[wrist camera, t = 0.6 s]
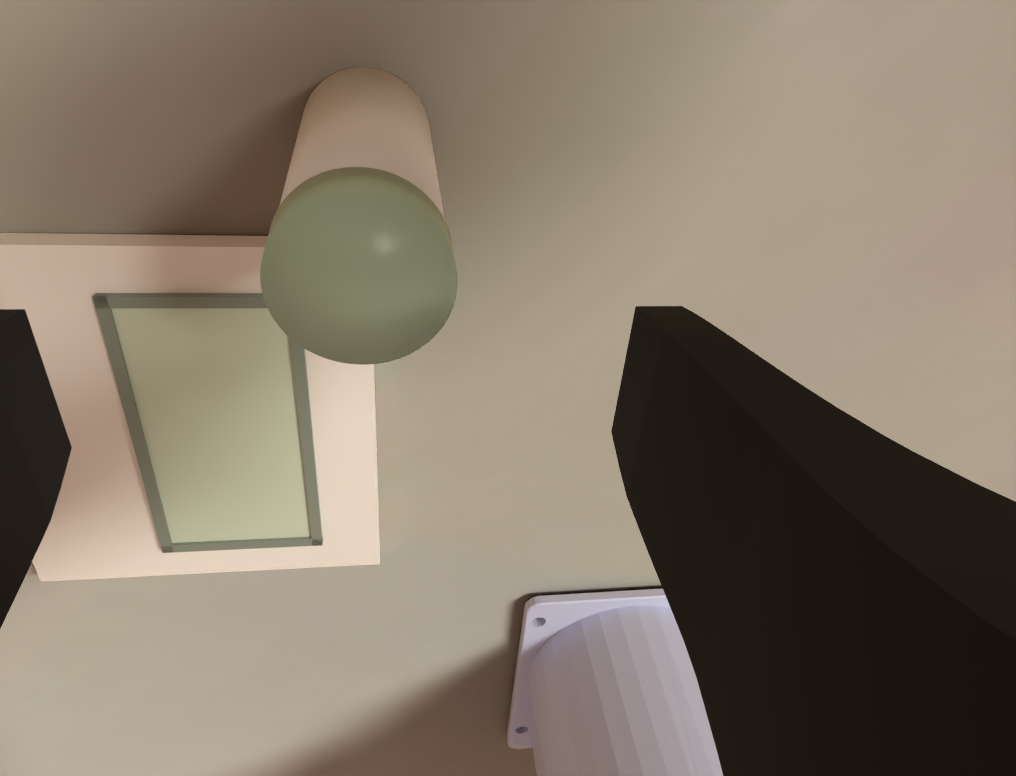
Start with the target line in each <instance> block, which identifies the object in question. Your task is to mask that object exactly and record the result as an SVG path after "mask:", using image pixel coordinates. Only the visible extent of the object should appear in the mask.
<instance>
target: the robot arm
mask: <svg viewBox="0 0 1016 776" xmlns="http://www.w3.org/2000/svg"><path fill="white" fill-rule="evenodd" d="M612 436H613V440H614V445H615V449H616V454H617V458H618V463H619V467H620V471H621V475H622V479H623V483H624V487H625V491H626V495H627V498H628V501H629V503H630V506H631V509H632V511H633V514H634V517H635V519H636V522H637V524H638V527H639V529H640V532H641V535H642V537H643V540H644V542H645V545H646V547H647V550H648V552H649V555H650V558H651V560H652V563H653V565H654V568H655V570H656V573H657V575H658V578H659V580H660V583H661V585H662V589H645V590H628V591H612V592H595V593H578V594H561V595H545V596H536V597H533V598H531V599H529V600H528V601H527V602H526V604H525V606H524V614H523V621H522V628H521V635H520V643H519V650H518V657H517V665H516V672H515V679H514V687H513V694H512V701H511V709H510V716H509V723H508V730H507V742H508V746H509V747H511V748H513V749H525V748H532V750H533V757H534V763H535V769H536V775H537V776H1016V502H1015V501H1013V500H1010V499H1008V498H1006V497H1004V496H1002V495H1000V494H997V493H995V492H993V491H991V490H989V489H987V488H984V487H982V486H980V485H978V484H976V483H974V482H972V481H970V480H968V479H966V478H964V477H962V476H960V475H958V474H956V473H954V472H952V471H950V470H948V469H946V468H944V467H942V466H940V465H938V464H936V463H934V462H932V461H930V460H928V459H926V458H924V457H923V456H921V455H919V454H917V453H915V452H913V451H911V450H909V449H907V448H905V447H904V446H902V445H900V444H898V443H896V442H895V441H893V440H891V439H889V438H887V437H886V436H884V435H882V434H880V433H879V432H877V431H875V430H874V429H872V428H870V427H869V426H867V425H865V424H864V423H862V422H860V421H859V420H857V419H855V418H854V417H852V416H850V415H849V414H847V413H845V412H844V411H842V410H840V409H839V408H837V407H835V406H834V405H832V404H831V403H829V402H827V401H826V400H824V399H823V398H821V397H820V396H818V395H816V394H815V393H813V392H812V391H810V390H809V389H807V388H806V387H804V386H803V385H801V384H799V383H798V382H796V381H795V380H793V379H792V378H790V377H789V376H787V375H786V374H784V373H783V372H781V371H780V370H778V369H777V368H776V367H774V366H773V365H771V364H770V363H768V362H767V361H765V360H764V359H762V358H761V357H759V356H758V355H756V354H755V353H754V352H752V351H751V350H749V349H748V348H746V347H745V346H743V345H742V344H740V343H739V342H738V341H736V340H735V339H733V338H732V337H730V336H729V335H727V334H726V333H724V332H723V331H721V330H720V329H718V328H717V327H715V326H714V325H712V324H711V323H709V322H708V321H706V320H705V319H703V318H701V317H700V316H698V315H696V314H695V313H693V312H691V311H689V310H688V309H686V308H684V307H682V306H637V307H636V308H635V313H634V318H633V323H632V329H631V334H630V339H629V344H628V349H627V354H626V359H625V365H624V370H623V375H622V380H621V385H620V390H619V396H618V401H617V406H616V411H615V416H614V421H613V426H612ZM71 449H72V447H71V444H70V441H69V438H68V435H67V432H66V429H65V426H64V423H63V420H62V417H61V414H60V411H59V408H58V405H57V402H56V399H55V397H54V394H53V391H52V388H51V385H50V382H49V379H48V376H47V373H46V370H45V367H44V364H43V361H42V358H41V355H40V352H39V349H38V346H37V343H36V340H35V338H34V335H33V332H32V329H31V326H30V323H29V320H28V317H27V314H26V311H25V309H0V628H1V626H2V624H3V622H4V620H5V617H6V615H7V613H8V611H9V609H10V607H11V605H12V603H13V601H14V599H15V597H16V594H17V592H18V590H19V588H20V586H21V584H22V582H23V580H24V578H25V575H26V573H27V571H28V569H29V567H30V565H31V563H32V560H33V558H34V556H35V554H36V552H37V550H38V547H39V545H40V543H41V541H42V539H43V537H44V534H45V532H46V530H47V528H48V525H49V523H50V521H51V518H52V515H53V511H54V508H55V505H56V502H57V499H58V495H59V492H60V489H61V486H62V482H63V478H64V475H65V471H66V467H67V464H68V460H69V456H70V452H71Z"/></svg>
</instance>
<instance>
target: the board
mask: <svg viewBox="0 0 1016 776" xmlns="http://www.w3.org/2000/svg"><path fill="white" fill-rule="evenodd" d="M267 238H268V236H221V235H137V234H53V233H0V309H25V311H26V314H27V317H28V320H29V323H30V326H31V329H32V332H33V335H34V338H35V340H36V343H37V346H38V349H39V352H40V355H41V358H42V361H43V364H44V367H45V370H46V373H47V376H48V379H49V382H50V385H51V388H52V391H53V394H54V397H55V399H56V402H57V405H58V408H59V411H60V414H61V417H62V420H63V423H64V426H65V429H66V432H67V435H68V438H69V441H70V444H71V447H72V449H71V452H70V456H69V460H68V464H67V467H66V471H65V475H64V478H63V482H62V486H61V489H60V492H59V495H58V499H57V502H56V505H55V508H54V511H53V515H52V518H51V521H50V523H49V525H48V528H47V530H46V532H45V534H44V537H43V539H42V541H41V543H40V545H39V547H38V550H37V552H36V554H35V556H34V558H33V560H32V562H33V564H34V567H35V569H36V572H37V574H38V576H39V579H40V581H41V582H42V581H62V580H81V579H100V578H120V577H139V576H158V575H177V574H197V573H216V572H235V571H255V570H274V569H293V568H312V567H332V566H351V565H370V564H380V537H379V505H378V474H377V442H376V411H375V379H374V364H367V365H359V364H347V363H340V362H336V361H333V360H329V359H326V358H323V357H321V356H318V355H316V354H314V353H312V352H310V351H308V350H306V349H304V348H303V347H301V346H300V345H298V344H297V343H296V342H294V341H293V340H292V339H291V338H290V337H288V336H287V335H286V334H285V333H284V331H283V330H282V329H281V328H280V327H279V326H278V324H277V323H276V322H275V320H274V319H273V317H272V316H271V314H270V312H269V310H268V308H267V306H266V303H265V300H264V298H263V294H262V289H261V283H260V269H261V261H262V257H263V253H264V249H265V246H266V242H267Z"/></svg>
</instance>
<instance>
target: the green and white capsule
mask: <svg viewBox="0 0 1016 776" xmlns="http://www.w3.org/2000/svg"><path fill="white" fill-rule="evenodd" d="M260 283H261V289H262V294H263V298H264V300H265V303H266V306H267V308H268V310H269V312H270V314H271V316H272V317H273V319H274V320H275V322H276V323H277V324H278V326H279V327H280V328H281V329H282V330H283V331H284V333H285V334H286V335H287V336H288V337H290V338H291V339H292V340H293V341H294V342H296V343H297V344H298V345H300V346H301V347H303V348H304V349H306V350H308V351H310V352H312V353H314V354H316V355H318V356H321V357H323V358H326V359H329V360H333V361H336V362H340V363H347V364H359V365H367V364H378V363H384V362H389V361H392V360H396V359H399V358H401V357H404V356H406V355H409V354H411V353H412V352H414V351H416V350H418V349H419V348H421V347H422V346H423V345H425V344H426V343H428V342H429V341H430V340H431V339H432V338H433V337H434V336H435V335H436V334H437V333H438V332H439V330H440V329H441V328H442V327H443V325H444V324H445V322H446V320H447V319H448V317H449V315H450V313H451V310H452V308H453V305H454V301H455V298H456V291H457V272H456V266H455V260H454V255H453V249H452V243H451V237H450V233H449V230H448V227H447V224H446V222H445V219H444V213H443V207H442V201H441V195H440V189H439V182H438V176H437V170H436V164H435V158H434V152H433V146H432V140H431V133H430V127H429V122H428V117H427V114H426V111H425V109H424V107H423V105H422V103H421V101H420V99H419V98H418V96H417V95H416V94H415V93H414V91H413V90H412V89H411V88H410V87H409V86H408V85H407V84H406V83H405V82H403V81H402V80H400V79H399V78H398V77H396V76H394V75H392V74H390V73H388V72H385V71H383V70H379V69H375V68H368V67H355V68H349V69H345V70H342V71H339V72H336V73H334V74H332V75H330V76H329V77H327V78H326V79H324V80H323V81H322V82H321V83H320V84H319V85H318V86H317V87H316V88H315V90H314V91H313V92H312V94H311V95H310V97H309V99H308V101H307V103H306V106H305V109H304V112H303V116H302V120H301V124H300V128H299V132H298V136H297V139H296V143H295V147H294V151H293V155H292V159H291V163H290V167H289V171H288V174H287V178H286V182H285V186H284V190H283V194H282V198H281V202H280V205H279V208H278V209H277V211H276V213H275V216H274V218H273V220H272V223H271V227H270V231H269V234H268V238H267V242H266V246H265V249H264V253H263V257H262V261H261V269H260Z"/></svg>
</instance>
